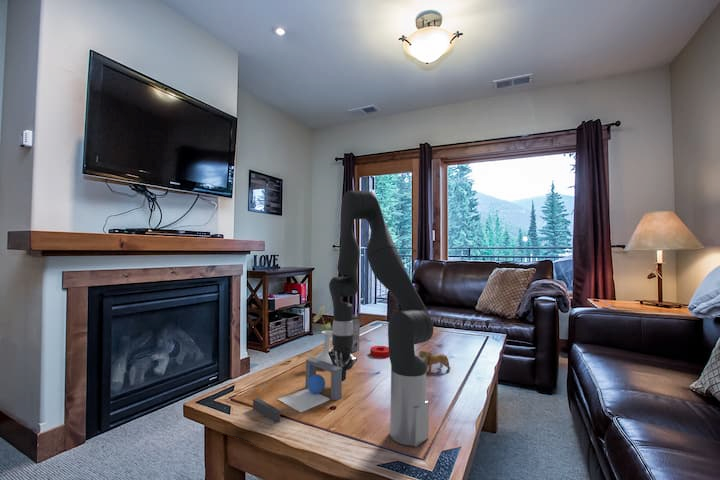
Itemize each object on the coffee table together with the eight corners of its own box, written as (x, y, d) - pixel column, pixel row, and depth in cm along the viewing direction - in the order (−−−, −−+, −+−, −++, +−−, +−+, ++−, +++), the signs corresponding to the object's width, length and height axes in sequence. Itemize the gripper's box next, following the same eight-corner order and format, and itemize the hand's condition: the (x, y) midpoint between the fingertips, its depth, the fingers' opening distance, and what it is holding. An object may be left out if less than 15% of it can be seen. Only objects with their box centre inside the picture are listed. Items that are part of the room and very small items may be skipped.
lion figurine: (422, 375, 132) (422, 352, 133) (415, 370, 137) (415, 348, 138) (454, 371, 137) (454, 349, 137) (446, 367, 142) (447, 345, 142)
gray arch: (312, 384, 121) (312, 357, 121) (341, 397, 111) (342, 368, 111) (305, 387, 119) (306, 359, 119) (334, 400, 109) (335, 370, 109)
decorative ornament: (368, 352, 161) (368, 345, 161) (387, 351, 163) (387, 345, 163) (372, 359, 151) (372, 352, 151) (393, 358, 153) (393, 351, 153)
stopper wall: (279, 421, 95) (280, 410, 95) (275, 423, 94) (275, 412, 94) (257, 407, 103) (257, 397, 103) (252, 408, 102) (253, 398, 102)
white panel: (330, 399, 109) (330, 399, 109) (300, 412, 101) (300, 411, 101) (307, 388, 118) (307, 388, 118) (277, 399, 109) (277, 399, 109)
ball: (310, 394, 110) (323, 398, 113) (318, 377, 111) (331, 381, 115) (301, 386, 114) (314, 389, 118) (309, 369, 116) (321, 373, 119)
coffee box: (340, 347, 168) (340, 314, 168) (352, 345, 170) (352, 313, 171) (347, 352, 159) (348, 318, 160) (359, 350, 162) (360, 317, 162)
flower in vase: (326, 358, 150) (327, 302, 150) (345, 364, 142) (347, 305, 143) (304, 366, 140) (305, 305, 140) (323, 373, 132) (325, 309, 133)
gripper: (322, 330, 124) (321, 378, 123) (348, 337, 115) (347, 389, 114) (337, 327, 129) (336, 373, 129) (363, 333, 120) (362, 382, 120)
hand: (341, 380), depth 122 cm, fingers closed
